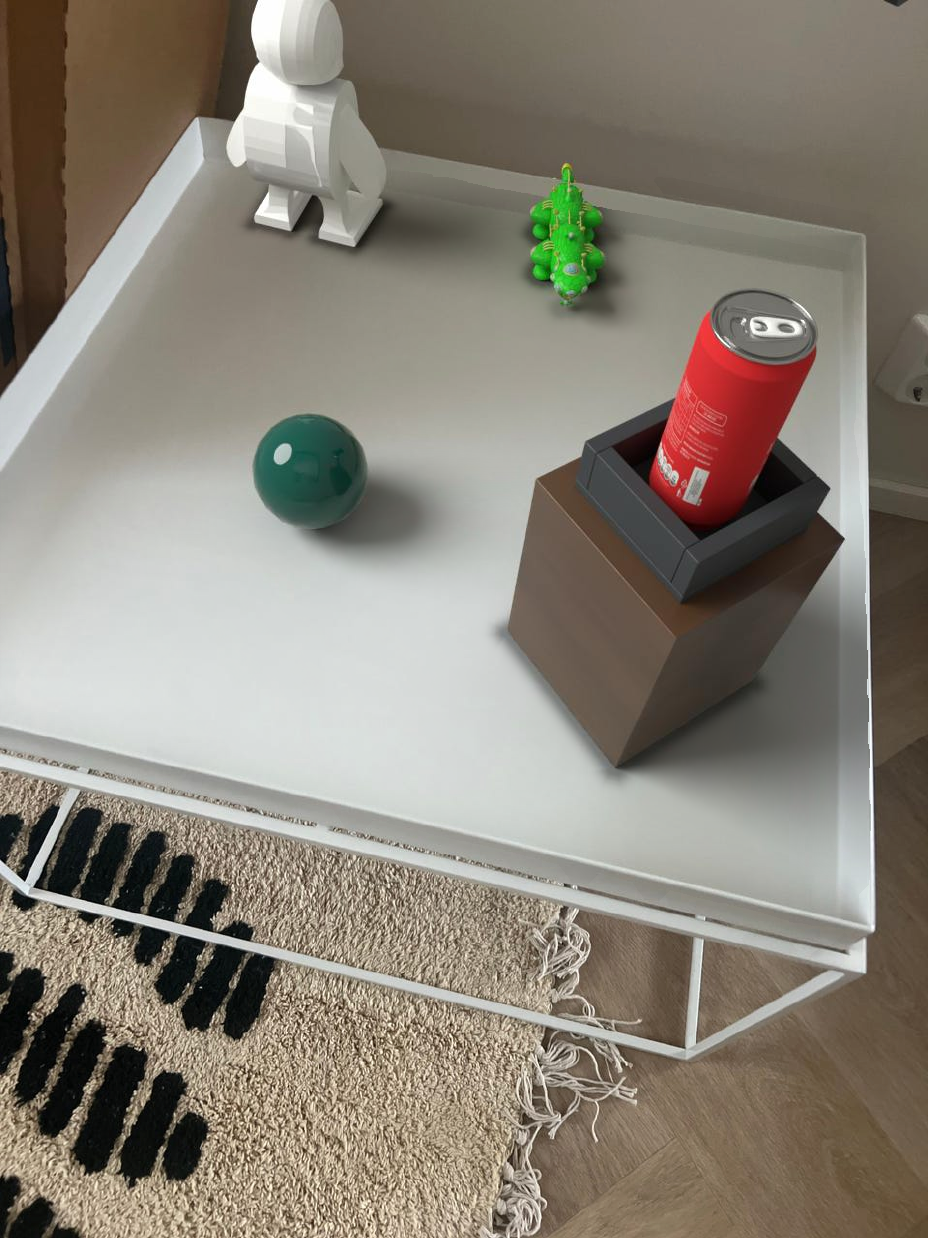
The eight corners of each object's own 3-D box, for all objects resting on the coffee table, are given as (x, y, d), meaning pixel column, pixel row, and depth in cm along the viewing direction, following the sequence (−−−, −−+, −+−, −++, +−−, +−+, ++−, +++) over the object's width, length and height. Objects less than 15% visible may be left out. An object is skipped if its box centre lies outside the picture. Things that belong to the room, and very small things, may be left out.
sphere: (256, 552, 69) (241, 478, 62) (262, 465, 73) (249, 387, 67) (369, 551, 70) (367, 478, 63) (369, 465, 74) (367, 388, 67)
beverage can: (641, 459, 54) (699, 279, 44) (734, 465, 54) (814, 288, 44) (647, 534, 51) (711, 361, 41) (746, 541, 51) (833, 370, 41)
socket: (697, 423, 56) (714, 377, 53) (806, 531, 53) (831, 488, 50) (573, 485, 53) (584, 440, 50) (680, 604, 50) (698, 563, 47)
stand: (641, 556, 71) (700, 397, 57) (753, 680, 66) (846, 538, 53) (506, 630, 67) (535, 478, 53) (614, 768, 62) (676, 639, 48)
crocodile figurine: (527, 319, 84) (533, 278, 80) (527, 190, 93) (532, 148, 90) (604, 325, 84) (614, 284, 80) (596, 195, 93) (604, 153, 90)
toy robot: (401, 208, 91) (403, -27, 74) (369, 268, 86) (363, 32, 69) (261, 174, 92) (231, -64, 75) (222, 231, 87) (180, -9, 70)
